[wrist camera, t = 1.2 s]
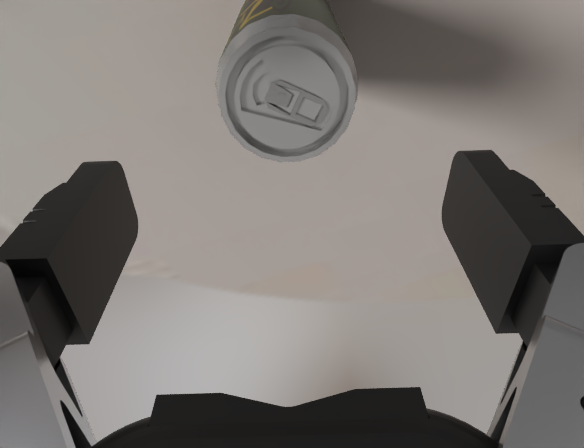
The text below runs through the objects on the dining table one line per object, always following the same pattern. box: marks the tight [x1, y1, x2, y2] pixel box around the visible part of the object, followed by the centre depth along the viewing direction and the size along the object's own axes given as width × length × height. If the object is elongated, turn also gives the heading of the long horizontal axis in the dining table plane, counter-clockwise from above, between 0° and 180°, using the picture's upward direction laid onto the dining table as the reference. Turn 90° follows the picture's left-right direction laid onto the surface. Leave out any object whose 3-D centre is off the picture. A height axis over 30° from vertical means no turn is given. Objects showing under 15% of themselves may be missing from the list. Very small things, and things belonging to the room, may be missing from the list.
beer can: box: [215, 0, 358, 162], centre depth 20 cm, size 5×5×12 cm
